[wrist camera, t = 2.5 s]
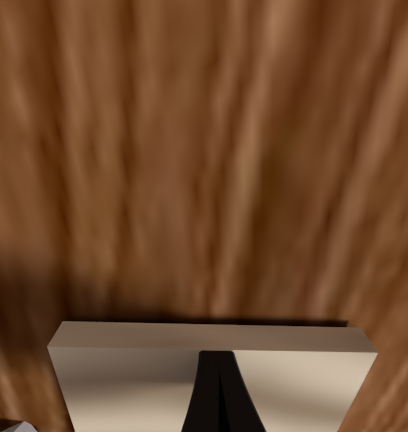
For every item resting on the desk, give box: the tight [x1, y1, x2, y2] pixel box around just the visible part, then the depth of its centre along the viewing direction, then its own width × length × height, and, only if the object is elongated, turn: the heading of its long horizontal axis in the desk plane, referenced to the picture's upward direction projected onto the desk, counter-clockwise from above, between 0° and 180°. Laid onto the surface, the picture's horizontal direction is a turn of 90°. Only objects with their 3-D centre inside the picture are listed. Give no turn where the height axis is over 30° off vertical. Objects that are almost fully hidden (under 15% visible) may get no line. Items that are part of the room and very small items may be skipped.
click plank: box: [47, 321, 378, 432], centre depth 12 cm, size 7×13×1 cm, turn 87°
